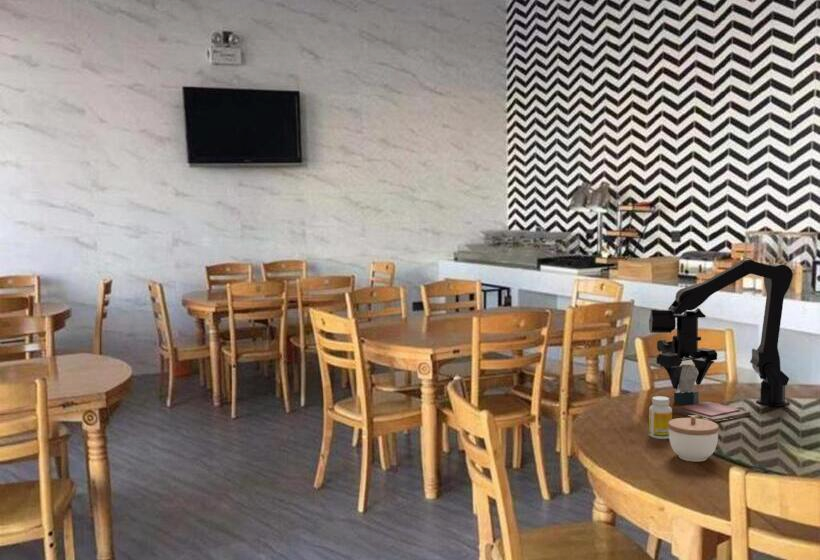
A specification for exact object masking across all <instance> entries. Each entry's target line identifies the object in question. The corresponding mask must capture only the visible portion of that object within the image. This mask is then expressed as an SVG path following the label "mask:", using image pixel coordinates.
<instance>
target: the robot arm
mask: <svg viewBox="0 0 820 560" xmlns="http://www.w3.org/2000/svg"><path fill="white" fill-rule="evenodd" d="M793 273H794V272H793V270H792V269H791V268H790V267H789V266H788V265H785V264H783V263H776V262H775V263H770V264H766V263H762V262H757V261H754V260H753V259H748V258H743V259H741V260H740V261H739V262H738V263H736V264H734V265H732V266H730V267H728V268H726V269H725V270H723V271H720V272H719V273H717V274H716V275H713V276H712V277H709V278H708V279H706V280H704V281H702V282H698V283H696V284H692V285H688V286H686V287H683V288H681V289H679V290H678V291H677V292H676V293H675V298H674V300H673V302H672V303H671V305H670V306H669V307H668V308H667V309H657V308H651V309H650V314H649V319H648V328H649V333H650V334H668V333H669V334H671V333H672V331H675V329H676V334H675V335H673V337H672V340H671V341H666V339H660V340H657V343H656V349H657V351H658V352H661V353H658V354H657V356H656V365H659V366H660V367H662V368H664V369H665V370H666V373H667V375H668V378H669V379H670V383H671V385H672V388H673V389H674V390H678V388H679V380H680V375H681V371H682V363H683V362H685V361H692V363H693V366H694V367H695V368H697V370H698V372H699V374H698V376H697V379H696V382H695V384H696V385H698V386H700V385H701V384H702V382H703V380H704V378H705V376H706V375H707V373H708V371H709V369H710V368H711V366H712V365H713V364H714V363H715V361H717V360H718V352H717V351H716V350H715V349H713V348H707V347H699V346H698V345H699V344H698V343H699V341H702V336H699V318H701V319H702V318H704V319H705V318H706V317H707V316H706V314H705V313H703V311H702V310H701V309H700V308H698V307H700V306H702V304H703V303H705V302H706V301H707V300H708V298H710V297H711V296H712V295H713V294H715V293H717V292H719V291H720V290H722V289H724V288H726V287H727V286H730V285H732V284H734V283H735V282H737V281H740V280H741V279H743V278H745V277H746V276H748V275H754V276H758V277H761V278H763V283H764V289H765V293H766V299H765V306H764V315H763V321H762V329H761V330H762V331H761V337H760V344H759V345H758V348H757V349H756V348H752V349H751V359H750V361H749V363H750V364H751V365H752V366H751V367H752V370H754V372H755V373H756V374H758V377H759V378H760V380H762V381H761V382H760V399H757V400H755V402H756V403H757V404H762V405H766V406H770V407H774V408H777V407H781V406H785V405H790V404H791V402H790V401H787V400H786V386H787V385H788V384H789V381H790V377H789V376H787V375H786V374H785V373H784V372H783V371H782V370H781V357H780V353H779V347H778V345H779V338H780V337H779V336H780V331H781V329H780V328H781V321H782V314H783V309H784V308H783V307H784V299H785V296H786V295H787V293H788V290H789V289H790V288H791V287H790V286H791V284H792V281H793V277H794V274H793Z"/></svg>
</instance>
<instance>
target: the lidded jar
mask: <svg viewBox="0 0 820 560" xmlns="http://www.w3.org/2000/svg"><path fill="white" fill-rule="evenodd" d="M668 427H669V438H668V439H669V444H670V447H671V449H672V450H673V452H674V453H676V455H678V458H679V459H681V460H684V461H686V462H695V463H696V462H705V461H707V460H708V459H709V457H710V456H712V455H713V453H714V452H715V450H716V449H717V445H718V442H719V441H718V440H719V430H720V429H719V428H720V426H719V424H718V422H717V423H715V422H712V421H709V420H705V419H699V418H696V417H695V416H691V417H679V418H678V417H677V418H672V420H670V421H669V422H668Z"/></svg>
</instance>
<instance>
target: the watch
mask: <svg viewBox="0 0 820 560" xmlns="http://www.w3.org/2000/svg"><path fill="white" fill-rule="evenodd" d="M681 366H682V371H681V375H680V380H679V384H678V388H679V389H677V390H676V391H674V392H673V393H674V395H673V396H674V397H673V398H674V399H673V403H674V404H678V405H684V406H686V405H691V404H696V403H699V399H700V398H699V395H700V393H699V391H695V390H694V387H695V384H696V379H697V376H698V374H699V372H698V370H697V368H695V365H691V364H681Z"/></svg>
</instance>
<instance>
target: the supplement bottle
mask: <svg viewBox="0 0 820 560" xmlns="http://www.w3.org/2000/svg"><path fill="white" fill-rule="evenodd" d="M651 402H652V405H650V407H649V408H648V409H649V410H648V414H649V415H648V436H649V437H650V438H653V439H658V440H666V439H667V440H668V439H669V427H668V422H669V421H670V420H672V419H673V412H672V407H671V406H669V405H670V397H667V396H661V395H658V396H657V395H656V396H653V397H652V399H651Z"/></svg>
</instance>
